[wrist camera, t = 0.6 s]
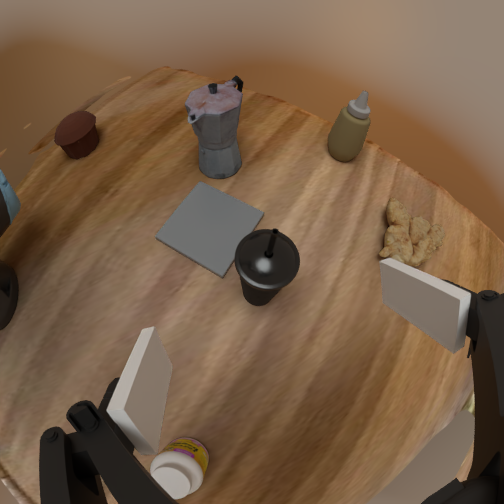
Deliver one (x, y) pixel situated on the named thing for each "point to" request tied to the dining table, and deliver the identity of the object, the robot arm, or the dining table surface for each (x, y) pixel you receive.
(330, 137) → the squeeze bottle
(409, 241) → the ginger root
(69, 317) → the dining table surface
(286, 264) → the drinking cup
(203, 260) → the slate coaster
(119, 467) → the robot arm
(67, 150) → the muffin
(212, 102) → the moka pot
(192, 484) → the supplement bottle
